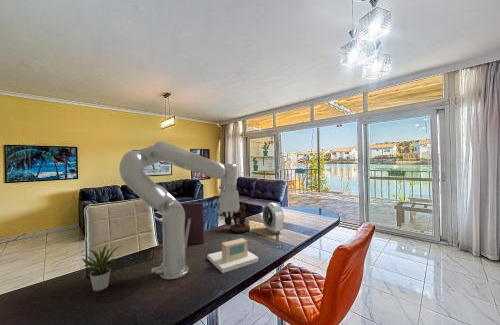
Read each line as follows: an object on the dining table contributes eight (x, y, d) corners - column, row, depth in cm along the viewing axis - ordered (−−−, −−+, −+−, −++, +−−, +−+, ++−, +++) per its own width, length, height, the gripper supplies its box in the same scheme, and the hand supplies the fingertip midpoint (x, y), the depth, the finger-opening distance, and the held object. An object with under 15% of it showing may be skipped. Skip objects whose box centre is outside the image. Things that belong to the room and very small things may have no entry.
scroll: (254, 230, 159) (253, 203, 159) (238, 235, 149) (238, 206, 149) (240, 226, 170) (240, 200, 170) (225, 230, 160) (225, 203, 159)
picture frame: (204, 243, 136) (203, 202, 135) (198, 249, 126) (198, 206, 126) (178, 242, 137) (177, 202, 137) (171, 248, 127) (170, 205, 127)
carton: (221, 259, 109) (226, 262, 104) (221, 243, 108) (226, 246, 104) (242, 253, 115) (247, 256, 111) (242, 238, 115) (247, 241, 111)
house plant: (116, 272, 100) (115, 237, 100) (129, 283, 91) (128, 244, 91) (77, 287, 89) (77, 247, 89) (87, 300, 80) (87, 256, 80)
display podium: (222, 273, 99) (222, 268, 99) (207, 258, 114) (207, 254, 114) (258, 261, 110) (258, 257, 110) (240, 249, 125) (240, 246, 125)
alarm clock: (262, 228, 163) (261, 201, 163) (271, 226, 167) (271, 200, 167) (274, 235, 147) (274, 205, 147) (285, 233, 151) (284, 204, 150)
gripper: (217, 189, 103) (216, 228, 103) (245, 188, 111) (244, 224, 110) (212, 187, 110) (211, 224, 109) (238, 186, 117) (237, 221, 117)
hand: (228, 224), depth 110 cm, fingers closed
